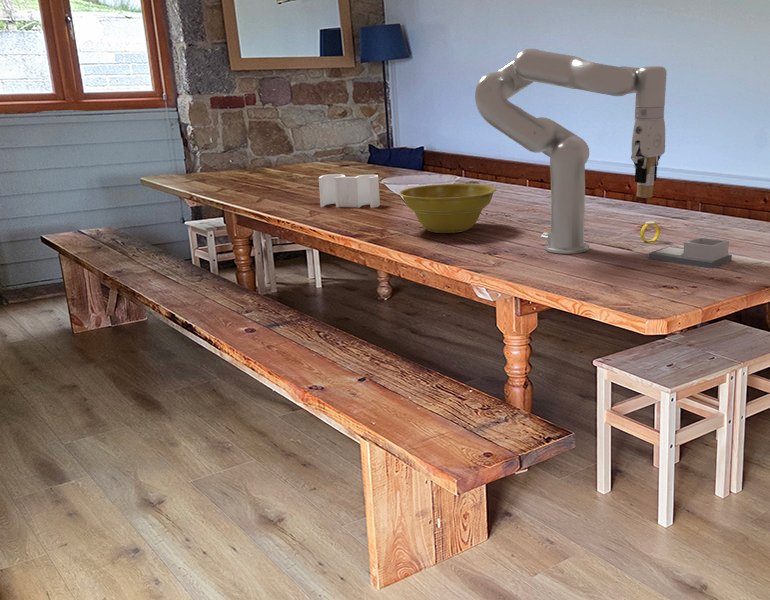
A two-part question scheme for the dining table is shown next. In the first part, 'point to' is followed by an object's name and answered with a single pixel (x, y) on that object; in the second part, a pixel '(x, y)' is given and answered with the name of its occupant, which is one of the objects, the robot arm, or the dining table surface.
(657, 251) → the grey tray with box
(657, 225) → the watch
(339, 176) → the bracket
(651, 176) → the sprinkles bottle
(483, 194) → the planter bowl
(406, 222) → the dining table surface
